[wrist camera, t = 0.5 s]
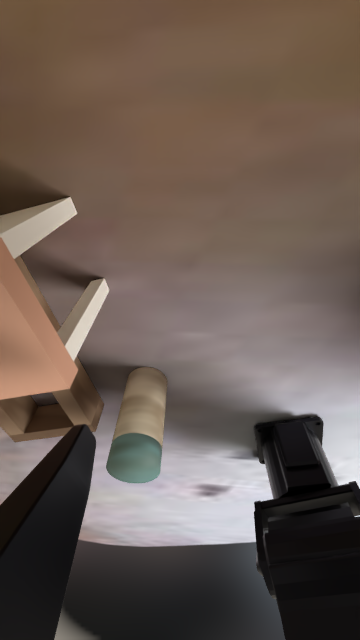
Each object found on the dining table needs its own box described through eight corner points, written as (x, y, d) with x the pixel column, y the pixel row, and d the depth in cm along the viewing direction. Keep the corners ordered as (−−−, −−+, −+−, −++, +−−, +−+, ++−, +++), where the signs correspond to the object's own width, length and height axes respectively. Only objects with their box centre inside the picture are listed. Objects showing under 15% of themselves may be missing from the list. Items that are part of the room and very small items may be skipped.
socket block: (104, 404, 27) (95, 431, 25) (30, 415, 29) (14, 442, 26) (10, 239, 19) (-17, 255, 16) (-91, 264, 20) (-131, 283, 17)
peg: (171, 392, 26) (166, 480, 20) (135, 397, 27) (117, 485, 20) (161, 364, 24) (151, 450, 18) (122, 370, 25) (97, 457, 18)
